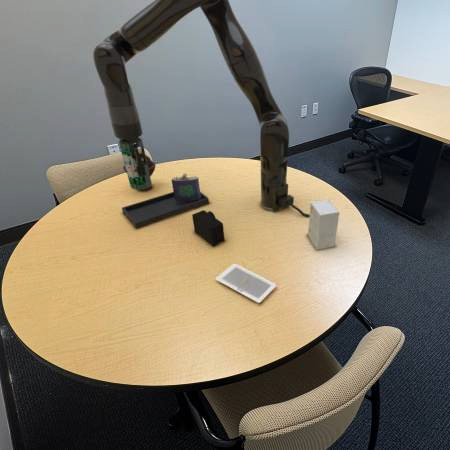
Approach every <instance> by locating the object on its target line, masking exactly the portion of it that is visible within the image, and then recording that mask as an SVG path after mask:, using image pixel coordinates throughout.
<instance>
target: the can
mask: <svg viewBox="0 0 450 450" xmlns="http://www.w3.org/2000/svg"><path fill="white" fill-rule="evenodd" d="M137 140H138V143H139V146H143V147H144V142H143V139H142V138H141V137H138V138H137ZM123 141H124V139H121V140H119V141H118V144H119V148H120V152H121V156H122V160H123V163H124V166H125V168H126V171H127V173H126V175H127V179H128V182H129V187H130V188H131V189H132V190H136V191H138V190H140V189H141V190H142V189H145V188H146V189H147V188H148V187H150V186H151V185H153V183H152V179H151V176H150V174H149V169H148V165H144V167H145V171H146V176H143V177H139V176H138V172H137V168H136V165H135V162H134V160H133V159H132V158H131V155H130V153H131V152H132V154H133V155H134V156H135V153H134V152H133V151H132V149H131V145H130V144H128V143H127V142H123ZM127 148H128V149H127ZM146 156H147V155H146ZM146 156H145V157H146ZM140 161H141V159H139V162H140ZM146 162H147V160H146ZM137 189H138V190H137Z"/></svg>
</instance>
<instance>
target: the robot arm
mask: <svg viewBox="0 0 450 450" xmlns="http://www.w3.org/2000/svg"><path fill="white" fill-rule="evenodd" d="M198 8H200V9H201V11H202V13H203V14H204V16H205V18H206V20H207V21H208V24H209V25H210V27H211V30H212V32H213V34H214V36H215V39H216V42H217V45H218V47H219V50H220V53H221V55H222V57H223V59H224V62H225V64H226V66H227V68H228V70H229V72H230V74H231V76H232V78H233V80H234V82H235V83H236V85H237V86H238V88H239V89H240V91H241V92H242V93H243V94H244V96H245V98H246V99H247V100H248V101H249V103H250V104H251V106H252V109H253V111H254V114H255V116H256V118H257V121H258V125H259V137H260V138H259V139H260V141H259V143H260V145H259V146H260V148H259V149H260V155H259V157H260V205H261V208H262V209H265V210H266V211H272V212H274V213H276V212H278V211H281V210H283V209H286V208H288V207H289V206H290V207H291V208H293V209H294V210H296V211H297V212H298V213H299V214H301V216H304V217H307V218H309V217H310V213H305V212H303V211H302V210H301V209H300V208H299V207H298V206H296V205H295V204H294V199H295V198H294V196H293V195H291V194H289V183H287V181H288V180H287V178H288V159H289V147H290V146H289V145H290V129H289V124H288V121H287V119H286V117H285V116H284V114H283V112H282V110H281V109H280V107H279V105H278V103H277V102H276V99H275V98H274V96H273V93H272V91H271V88H270V85H269V82H268V79H267V75H266V73H265V70H264V67H263V65H262V63H261V60H260V58H259V56H258V53H257V51H256V49H255V48H254V47H255V46H254V45H253V44H252V41H251V40H250V38H249V36H248V35H247V33H246V31H245V30H244V28H243V27H242V25H241V24H240V22H239V21H238V19H237V17H236V15H235V13H234V10H233V9H232V6H231V4H230V1H229V0H154V1H152V2H151V3H149V4H147V6H145V7H144V8H142V9H141V10H140V11H138V12H137V13H136V14H135V15H133V16H132V17H131V18H129V19H127V21H125V22H124V23H123V24H122V25H121V26H120V28H119V29H117V30H116V31H114V32H113V33H111V34H110V35H108V36H107V37H105V38H104V39H103V40H101V41H99V42H98V44H97V45H96V46H95V47H94V48H93V50H92V59H93V63H94V67H95V69H96V73H97V75H98V78H99V81H100V82H101V84H102V87H103V92H104V97H105V100H106V104H107V110H108V116H109V119H110V123H111V126H112V130H113V134H114V137H115V138H116V139H119V141H120V140H121V139H124V141H123V142H127V143H128V144H130V145H131V149H132V151H133V152H134V153H135V156H134V155H133V154H132V152H131V153H130V155H131V158H132V159H133V160H134V162H135V165H136V168H137V172H138V176H139V177H143V176H146V171H145V167H144V165H147V162H146V157H145V155H146V152H145V147H144V145H143V146H139V143H138V140H137V138H141V136H142V135H143V129H142V125H141V120H140V119H141V118H140V115H139V111H138V107H137V105H136V101H135V98H134V97H135V96H134V92H133V89H132V88H133V87H132V86H131V84H130V82H129V78H128V74H127V70H126V69H127V68H126V64H127V63H128V62H129V61H130V60H132V59H133V58H134V57H136V55H137V54H139V53H142V52H144V51H146V50H147V49H148V48H150V47H151V46H152V45H153V44H155V43H156V42H157V41H159V40H160V39H161V38H162V37H163V36H165V35H166V34H167V33H168V32H169V31H170V30H171V29H172V28H173V27H174V26H175V25H176V24H177V23H178V22H179V21H181V20H182V19H184V18H185V17H186V16H187V15H189V14H190V13H192V12H193V11H194V10H197V9H198ZM127 149H128V148H127ZM139 159H141V161H140V162H139Z"/></svg>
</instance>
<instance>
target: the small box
mask: <svg viewBox="0 0 450 450" xmlns="http://www.w3.org/2000/svg"><path fill="white" fill-rule="evenodd" d="M309 214H310V217H308V230H307V237H308V238H309V240H310V242H311V243H312V245H313V246H314V247H315V249H316V250H317V251H318V250H323V249H328V248H333V247H335V246H336V240H337V233H338V225H339V217H340V211H339V210H338V209H337V208H336V206H335V205H334V204H333V203H332V202H331V200H330V199H322V200H314V201H310V206H309Z"/></svg>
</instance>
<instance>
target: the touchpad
mask: <svg viewBox="0 0 450 450" xmlns="http://www.w3.org/2000/svg"><path fill="white" fill-rule="evenodd" d="M214 280H216V281H218V282H219V283H221V284H223V285H225V286H227V287H229V288H231V289H232V290H234V291H236V292H238V293H240V294H241V295H243V296H245V297H247V298H249V299H250V300H253V301H254V302H256V303H258V304H260V303H261V302H262V301H263V300H264V299H265V298H267V296H269V294H270V293H271V292H272V291H273V290H274V289H275V288H276V287H277V286H278V284H276V283H274V282H272V281H271V280H268V279H267V278H264V277H262V276H260V275H259V274H256V273H255V272H252V271H251V270H249V269H247V268H246V267H245V268H244V267H243V266H241V265H239V264H237V263H235V262H234V263H232V264H231V265H230V266H229V267H227V268H226V269H225V270H224V271H223V272H222V273H220V274H219V275H217V276H216V277H215V278H214Z"/></svg>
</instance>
